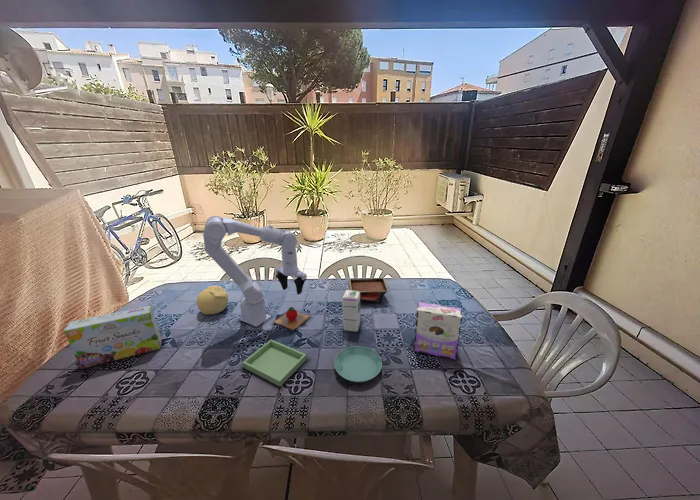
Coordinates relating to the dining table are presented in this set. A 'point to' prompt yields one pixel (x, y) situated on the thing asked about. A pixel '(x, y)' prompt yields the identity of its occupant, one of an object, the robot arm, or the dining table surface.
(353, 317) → the syrup box
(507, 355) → the dining table surface
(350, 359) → the saucer
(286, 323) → the board
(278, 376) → the tray
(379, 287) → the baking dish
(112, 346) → the snack box
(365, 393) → the dining table surface
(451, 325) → the candy box
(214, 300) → the sculpture
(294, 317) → the strawberry
